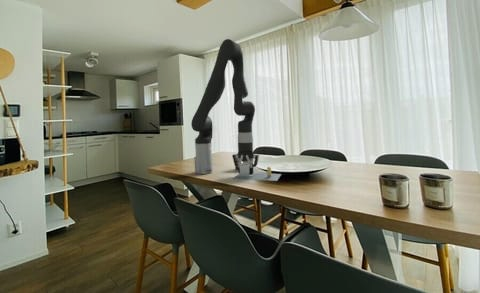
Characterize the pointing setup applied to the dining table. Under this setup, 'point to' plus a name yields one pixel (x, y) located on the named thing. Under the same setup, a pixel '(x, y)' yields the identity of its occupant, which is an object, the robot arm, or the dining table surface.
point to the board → (261, 176)
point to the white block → (245, 170)
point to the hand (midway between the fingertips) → (246, 174)
